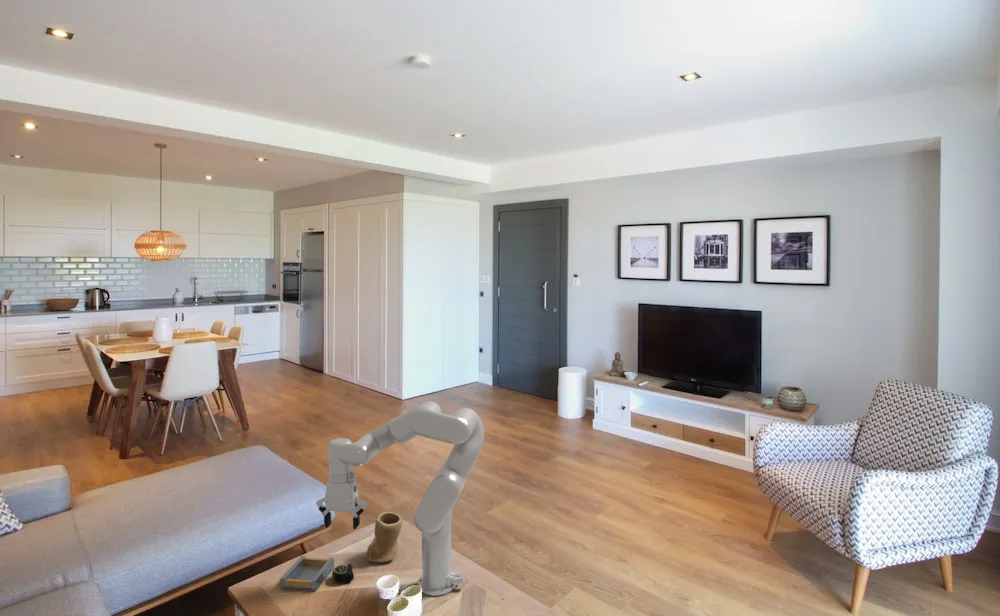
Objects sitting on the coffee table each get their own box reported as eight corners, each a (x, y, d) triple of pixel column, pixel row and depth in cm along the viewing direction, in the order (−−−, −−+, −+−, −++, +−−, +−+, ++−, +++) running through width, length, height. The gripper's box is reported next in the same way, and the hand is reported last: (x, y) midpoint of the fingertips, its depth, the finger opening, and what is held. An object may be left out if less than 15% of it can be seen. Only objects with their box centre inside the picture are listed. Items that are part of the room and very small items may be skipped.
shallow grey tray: (334, 567, 188) (334, 558, 187) (315, 591, 174) (315, 581, 173) (301, 565, 189) (301, 555, 189) (280, 588, 175) (280, 578, 175)
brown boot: (400, 564, 189) (399, 523, 188) (365, 565, 189) (364, 524, 188) (405, 543, 205) (404, 504, 204) (373, 544, 204) (372, 505, 203)
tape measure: (354, 583, 178) (353, 572, 178) (332, 587, 176) (332, 576, 176) (353, 572, 185) (352, 562, 185) (332, 575, 183) (331, 565, 183)
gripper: (370, 473, 181) (371, 522, 182) (321, 471, 183) (322, 520, 184) (361, 482, 174) (362, 533, 175) (310, 479, 176) (312, 530, 177)
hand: (342, 526), depth 180 cm, fingers open, 9 cm apart
